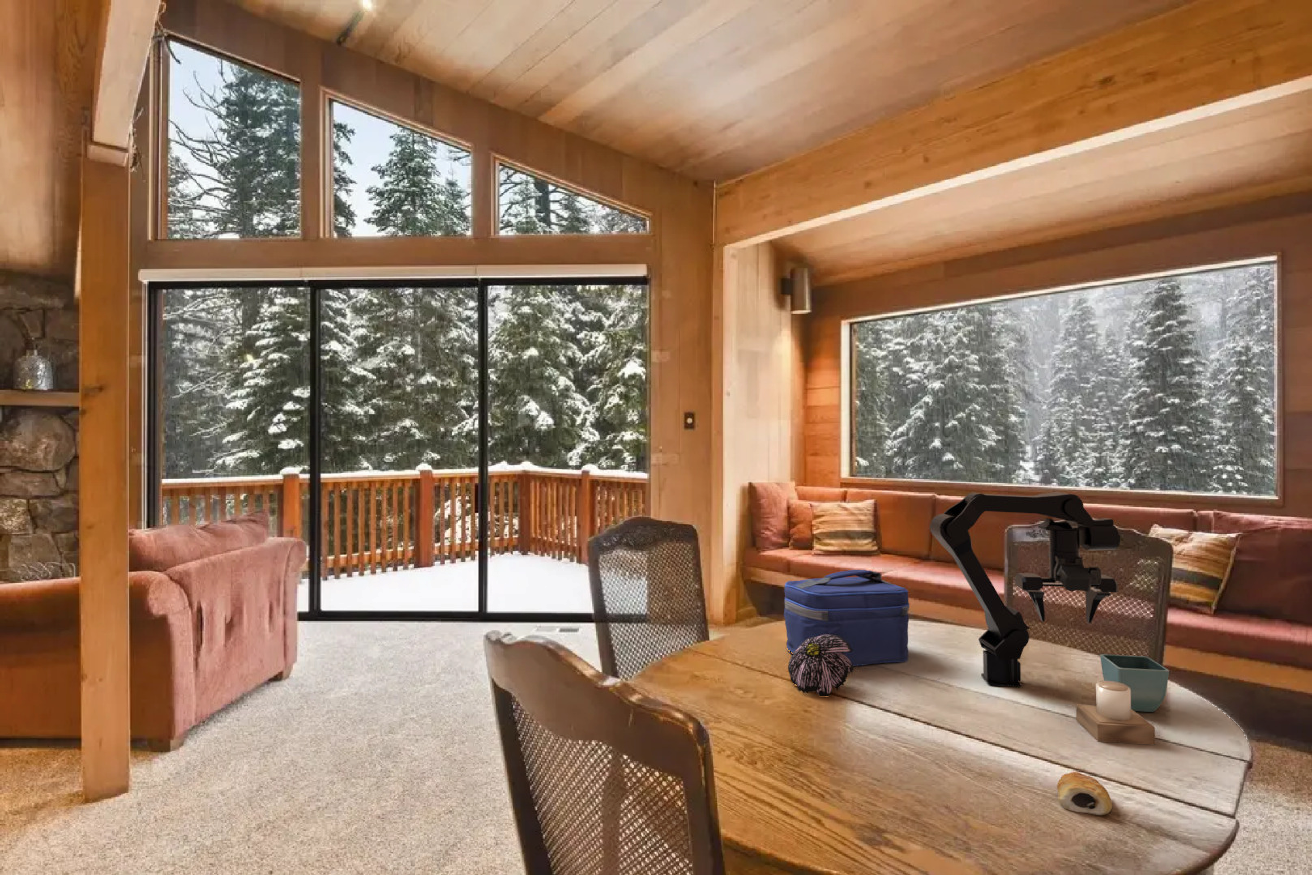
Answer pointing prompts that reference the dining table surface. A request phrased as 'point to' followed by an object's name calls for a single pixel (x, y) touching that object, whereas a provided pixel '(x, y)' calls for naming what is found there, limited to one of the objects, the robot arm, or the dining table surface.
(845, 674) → the decorative flower
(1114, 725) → the stand
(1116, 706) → the jar
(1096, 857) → the dining table surface
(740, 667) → the dining table surface
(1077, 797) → the pastry
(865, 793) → the dining table surface
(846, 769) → the dining table surface
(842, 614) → the lunch bag
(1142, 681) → the flower pot
